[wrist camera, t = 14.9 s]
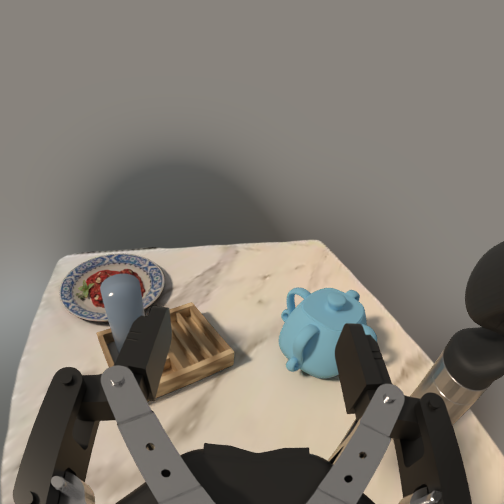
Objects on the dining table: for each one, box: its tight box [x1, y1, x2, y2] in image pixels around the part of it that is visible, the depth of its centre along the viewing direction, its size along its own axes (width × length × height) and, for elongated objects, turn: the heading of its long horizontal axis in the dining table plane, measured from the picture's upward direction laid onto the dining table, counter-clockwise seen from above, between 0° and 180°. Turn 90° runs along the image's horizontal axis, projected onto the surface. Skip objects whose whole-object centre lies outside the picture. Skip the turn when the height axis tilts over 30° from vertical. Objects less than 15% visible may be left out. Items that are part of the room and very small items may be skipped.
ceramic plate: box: [59, 254, 165, 321], centre depth 62 cm, size 26×26×3 cm
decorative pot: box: [279, 288, 377, 378], centre depth 50 cm, size 16×16×14 cm
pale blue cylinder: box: [100, 274, 145, 354], centre depth 43 cm, size 6×6×15 cm
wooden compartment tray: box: [97, 302, 234, 401], centre depth 48 cm, size 20×15×4 cm
